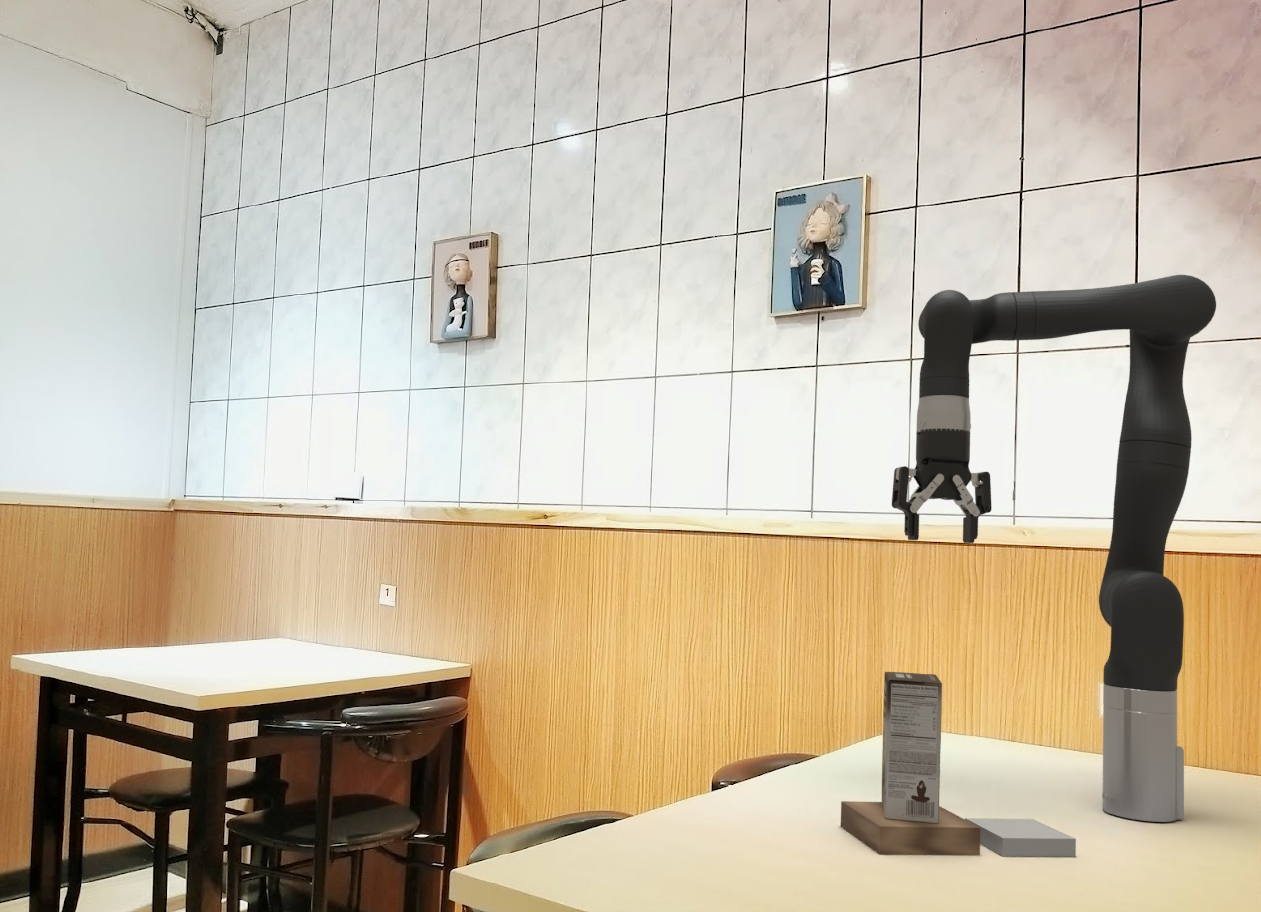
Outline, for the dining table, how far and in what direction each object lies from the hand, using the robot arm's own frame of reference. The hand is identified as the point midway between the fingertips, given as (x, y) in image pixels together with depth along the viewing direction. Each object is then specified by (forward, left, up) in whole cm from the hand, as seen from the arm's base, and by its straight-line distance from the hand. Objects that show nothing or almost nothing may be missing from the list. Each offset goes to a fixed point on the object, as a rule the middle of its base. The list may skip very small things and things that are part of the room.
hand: (940, 541), depth 151 cm
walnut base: (+14, +22, -36) cm, 44 cm away
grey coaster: (+1, +24, -36) cm, 43 cm away
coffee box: (+14, +21, -33) cm, 42 cm away
